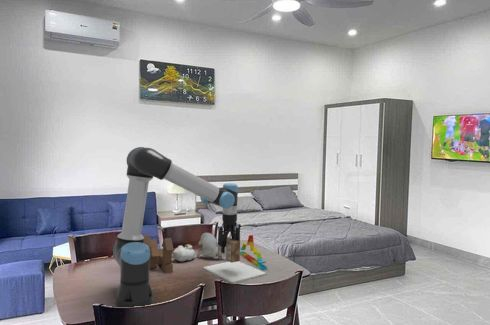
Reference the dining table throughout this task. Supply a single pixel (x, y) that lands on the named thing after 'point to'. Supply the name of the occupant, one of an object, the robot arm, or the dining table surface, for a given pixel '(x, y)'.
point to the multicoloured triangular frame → (250, 258)
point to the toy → (208, 246)
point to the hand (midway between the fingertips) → (228, 257)
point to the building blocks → (160, 253)
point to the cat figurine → (183, 253)
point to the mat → (234, 271)
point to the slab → (231, 250)
